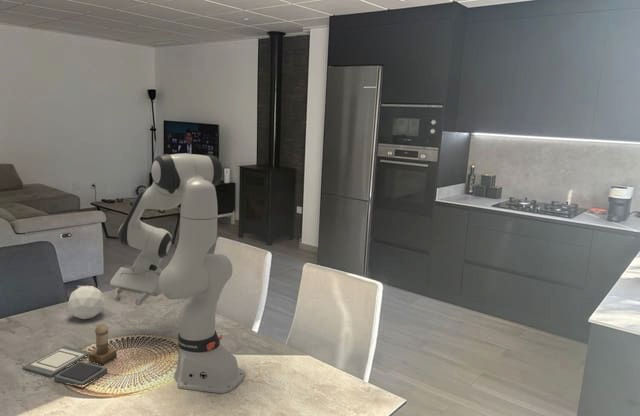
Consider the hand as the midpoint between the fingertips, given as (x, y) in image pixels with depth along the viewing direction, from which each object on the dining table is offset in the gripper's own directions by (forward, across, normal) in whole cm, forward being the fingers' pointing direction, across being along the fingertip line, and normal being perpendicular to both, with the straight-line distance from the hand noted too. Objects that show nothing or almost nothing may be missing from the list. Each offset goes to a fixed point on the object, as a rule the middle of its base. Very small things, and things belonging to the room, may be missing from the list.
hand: (126, 302), depth 166 cm
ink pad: (+28, +2, -5) cm, 28 cm away
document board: (+25, -12, -2) cm, 28 cm away
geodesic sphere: (+3, -31, +20) cm, 37 cm away
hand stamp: (+20, 0, +3) cm, 20 cm away
